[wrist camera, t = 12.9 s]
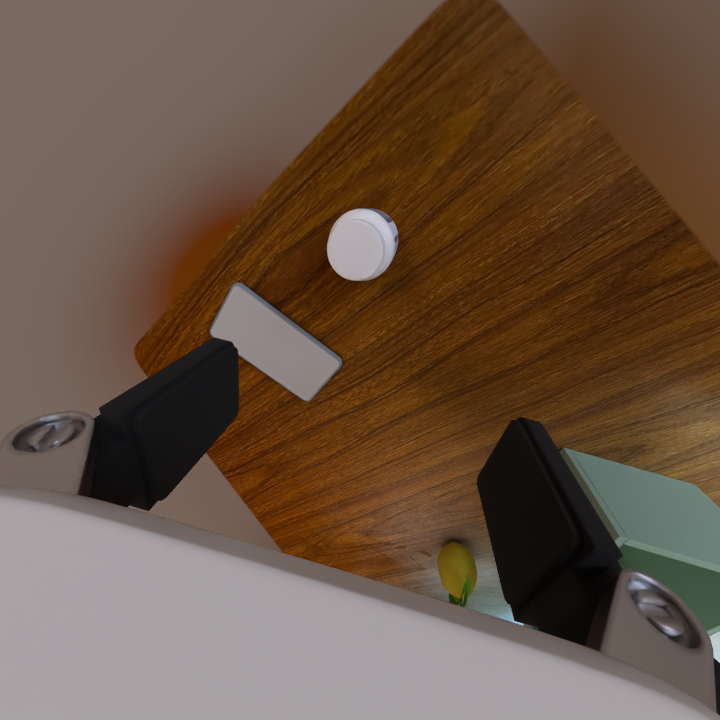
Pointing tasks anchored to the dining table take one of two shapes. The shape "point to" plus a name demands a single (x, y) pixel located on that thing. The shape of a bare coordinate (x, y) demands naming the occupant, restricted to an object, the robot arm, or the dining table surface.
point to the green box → (658, 528)
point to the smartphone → (274, 343)
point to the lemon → (457, 572)
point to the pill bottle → (362, 244)
